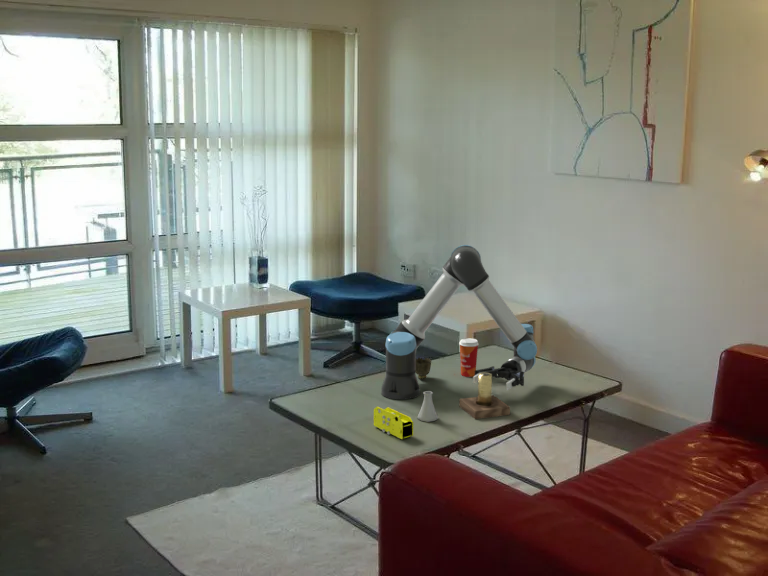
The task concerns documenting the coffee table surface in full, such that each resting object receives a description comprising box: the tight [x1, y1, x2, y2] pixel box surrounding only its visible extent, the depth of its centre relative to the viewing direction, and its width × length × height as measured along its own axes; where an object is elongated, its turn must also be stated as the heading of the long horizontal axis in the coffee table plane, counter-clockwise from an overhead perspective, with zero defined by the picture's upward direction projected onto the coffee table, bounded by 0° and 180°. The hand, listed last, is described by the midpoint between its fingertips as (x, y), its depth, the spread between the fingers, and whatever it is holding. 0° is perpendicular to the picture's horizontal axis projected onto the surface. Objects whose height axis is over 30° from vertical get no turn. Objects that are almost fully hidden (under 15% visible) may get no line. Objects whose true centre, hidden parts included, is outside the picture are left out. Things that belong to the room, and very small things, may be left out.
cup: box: [415, 357, 432, 380], centre depth 351 cm, size 8×7×8 cm
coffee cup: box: [458, 337, 480, 378], centre depth 355 cm, size 8×8×15 cm
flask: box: [417, 390, 439, 423], centre depth 305 cm, size 7×7×10 cm
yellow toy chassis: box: [373, 406, 414, 440], centre depth 292 cm, size 16×6×8 cm, turn 38°
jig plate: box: [458, 394, 511, 420], centre depth 314 cm, size 14×14×3 cm
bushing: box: [477, 373, 493, 406], centre depth 313 cm, size 5×5×14 cm
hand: (490, 383), depth 315 cm, fingers open, 13 cm apart
